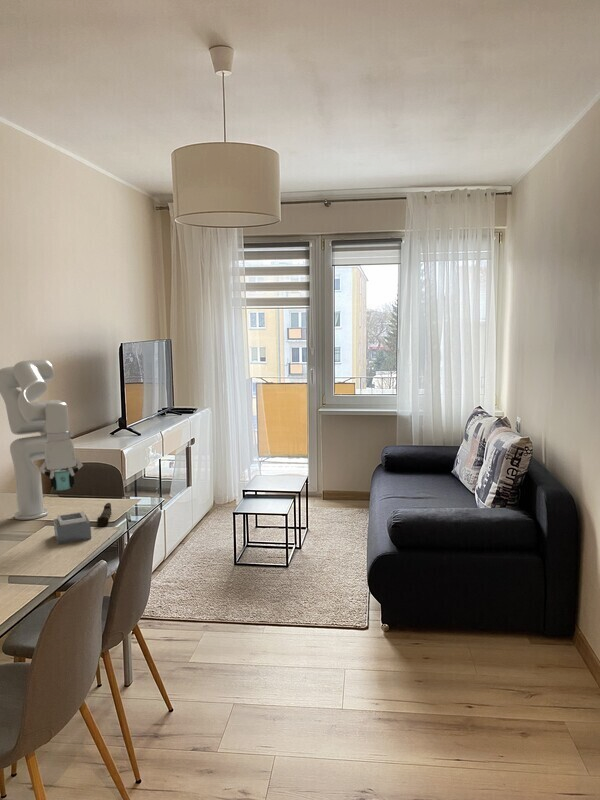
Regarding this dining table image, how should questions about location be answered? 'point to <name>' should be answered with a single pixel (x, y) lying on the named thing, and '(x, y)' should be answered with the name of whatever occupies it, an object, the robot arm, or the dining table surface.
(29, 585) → the dining table surface
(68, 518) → the grey plastic box
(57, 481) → the teal toy block
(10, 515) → the dining table surface
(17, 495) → the robot arm
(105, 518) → the hand tool
